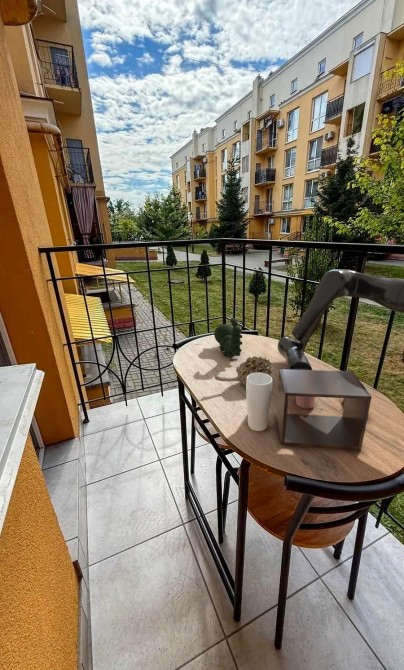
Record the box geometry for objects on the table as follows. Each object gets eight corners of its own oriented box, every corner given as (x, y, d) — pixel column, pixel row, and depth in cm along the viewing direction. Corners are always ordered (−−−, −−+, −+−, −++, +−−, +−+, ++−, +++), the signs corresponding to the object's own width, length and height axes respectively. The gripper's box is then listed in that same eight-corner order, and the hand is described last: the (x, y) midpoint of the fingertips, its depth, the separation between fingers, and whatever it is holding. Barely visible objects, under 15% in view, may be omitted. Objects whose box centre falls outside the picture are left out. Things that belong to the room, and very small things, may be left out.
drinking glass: (273, 433, 75) (276, 383, 70) (248, 435, 75) (249, 385, 69) (265, 417, 81) (268, 371, 76) (242, 419, 81) (243, 373, 76)
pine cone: (262, 373, 106) (262, 349, 103) (277, 384, 98) (279, 359, 95) (209, 386, 99) (208, 361, 95) (221, 400, 90) (221, 373, 87)
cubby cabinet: (344, 419, 79) (352, 371, 74) (361, 450, 68) (371, 396, 63) (276, 415, 82) (279, 369, 76) (281, 445, 71) (285, 392, 65)
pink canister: (311, 399, 89) (315, 371, 86) (315, 409, 84) (319, 379, 81) (294, 398, 90) (296, 370, 86) (297, 408, 85) (299, 379, 81)
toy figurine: (247, 363, 118) (228, 338, 140) (249, 322, 110) (229, 302, 132) (225, 366, 116) (210, 340, 138) (226, 324, 108) (210, 304, 130)
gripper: (277, 355, 98) (284, 379, 82) (320, 356, 96) (335, 381, 80) (276, 374, 100) (282, 401, 85) (318, 375, 98) (332, 403, 83)
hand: (308, 391), depth 82 cm, fingers closed on pink canister, 5 cm apart
